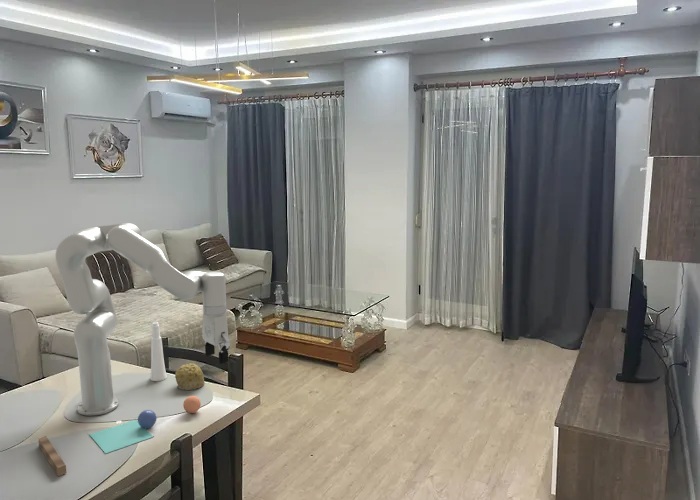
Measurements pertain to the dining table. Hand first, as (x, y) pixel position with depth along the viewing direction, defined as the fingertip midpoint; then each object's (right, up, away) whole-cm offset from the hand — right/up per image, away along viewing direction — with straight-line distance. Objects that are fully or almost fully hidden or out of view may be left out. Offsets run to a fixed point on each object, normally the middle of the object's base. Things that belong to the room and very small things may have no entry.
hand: (216, 358), depth 181 cm
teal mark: (-24, -20, -19) cm, 36 cm away
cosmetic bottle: (-28, -12, +23) cm, 39 cm away
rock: (-14, -14, +17) cm, 26 cm away
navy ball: (-18, -16, -14) cm, 28 cm away
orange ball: (-7, -14, -4) cm, 17 cm away
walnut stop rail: (-38, -22, -31) cm, 54 cm away
